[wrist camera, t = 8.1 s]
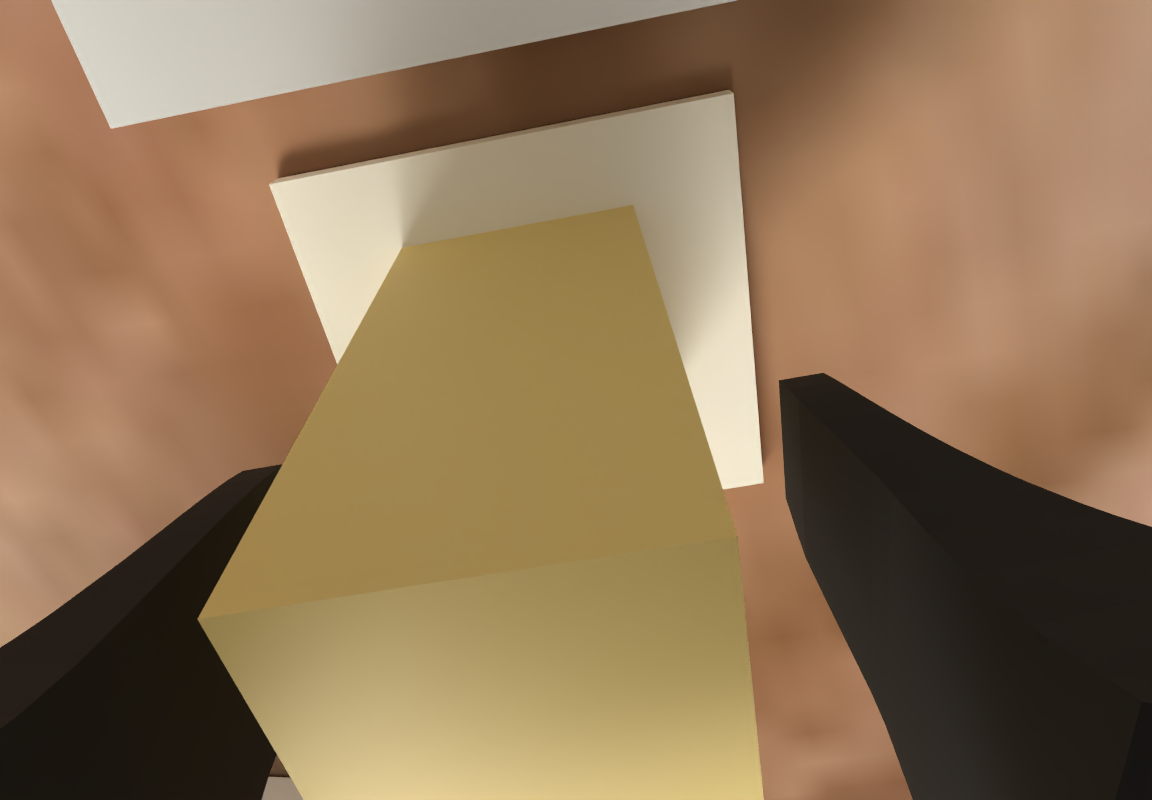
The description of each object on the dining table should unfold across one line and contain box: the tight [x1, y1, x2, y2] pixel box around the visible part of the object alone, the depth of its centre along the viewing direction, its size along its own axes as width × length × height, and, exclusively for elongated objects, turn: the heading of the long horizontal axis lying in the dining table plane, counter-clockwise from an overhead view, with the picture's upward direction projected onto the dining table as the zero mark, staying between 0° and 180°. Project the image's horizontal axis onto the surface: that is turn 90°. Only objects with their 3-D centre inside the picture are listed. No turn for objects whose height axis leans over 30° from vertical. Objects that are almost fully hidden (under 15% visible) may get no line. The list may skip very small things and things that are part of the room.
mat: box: [269, 90, 763, 489], centre depth 15 cm, size 8×8×1 cm
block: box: [198, 205, 764, 800], centre depth 11 cm, size 4×4×9 cm
